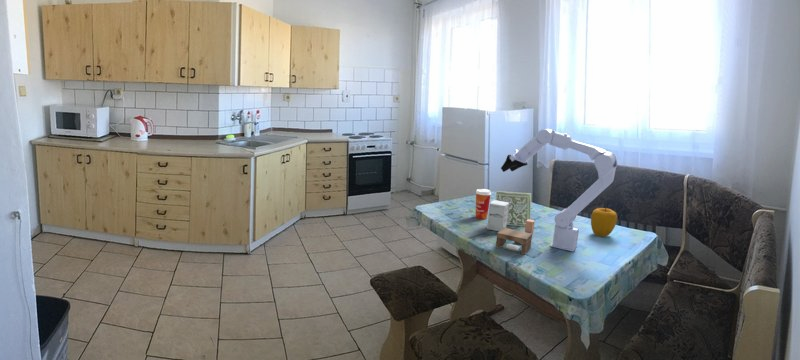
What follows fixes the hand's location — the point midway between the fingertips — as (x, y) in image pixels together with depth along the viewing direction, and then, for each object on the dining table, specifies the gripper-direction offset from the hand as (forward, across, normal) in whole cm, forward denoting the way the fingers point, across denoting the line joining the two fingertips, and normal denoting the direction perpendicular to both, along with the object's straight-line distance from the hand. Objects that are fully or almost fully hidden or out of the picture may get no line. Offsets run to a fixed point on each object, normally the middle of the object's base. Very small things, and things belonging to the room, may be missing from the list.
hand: (506, 169), depth 199 cm
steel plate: (+13, +12, +31) cm, 36 cm away
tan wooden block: (+13, -3, +28) cm, 31 cm away
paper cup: (+32, -14, +6) cm, 35 cm away
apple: (-4, -34, +43) cm, 55 cm away
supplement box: (+23, -5, +17) cm, 29 cm away
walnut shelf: (+13, +11, +30) cm, 35 cm away
